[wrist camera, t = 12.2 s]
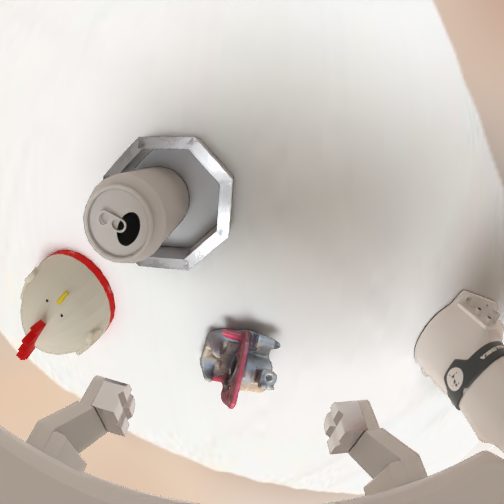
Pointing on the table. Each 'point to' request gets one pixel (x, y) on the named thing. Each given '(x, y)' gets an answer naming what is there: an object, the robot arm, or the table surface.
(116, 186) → the can
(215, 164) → the steel ring
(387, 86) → the table surface
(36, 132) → the table surface
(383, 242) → the table surface
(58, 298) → the kitchen timer
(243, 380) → the brake caliper
